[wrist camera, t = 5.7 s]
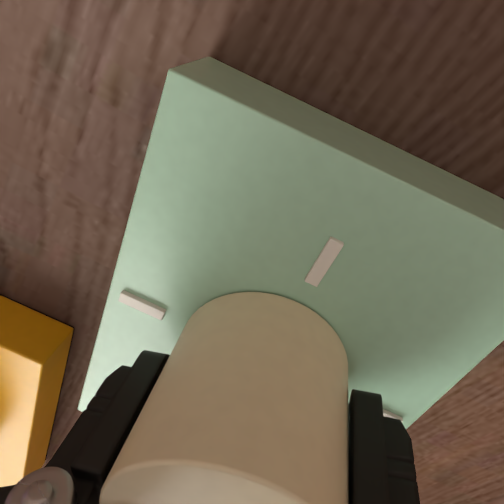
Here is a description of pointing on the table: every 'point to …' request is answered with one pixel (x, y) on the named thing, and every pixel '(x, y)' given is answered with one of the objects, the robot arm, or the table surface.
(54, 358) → the housing
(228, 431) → the knob
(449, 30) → the table surface
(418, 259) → the green dial base plate
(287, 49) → the table surface
